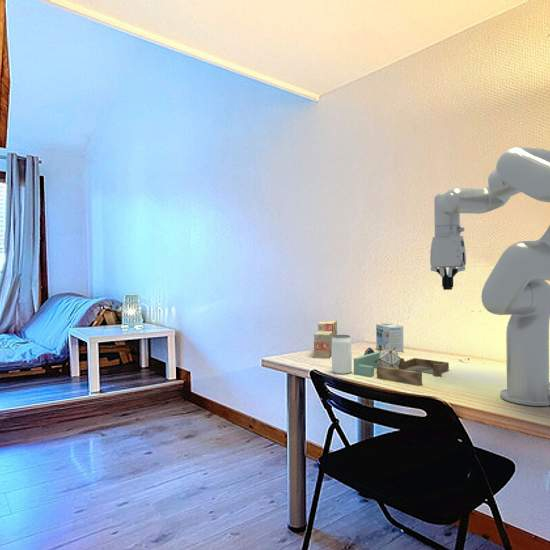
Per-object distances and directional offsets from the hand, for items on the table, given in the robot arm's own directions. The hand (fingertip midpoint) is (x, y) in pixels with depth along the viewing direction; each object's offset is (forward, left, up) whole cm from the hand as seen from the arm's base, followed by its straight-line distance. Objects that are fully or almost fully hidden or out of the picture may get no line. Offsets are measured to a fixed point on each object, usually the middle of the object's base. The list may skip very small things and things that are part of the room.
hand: (447, 289), depth 142 cm
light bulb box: (+34, -24, -27) cm, 50 cm away
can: (+28, +19, -27) cm, 43 cm away
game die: (+16, +10, -27) cm, 33 cm away
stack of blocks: (+52, -5, -28) cm, 59 cm away
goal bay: (+20, +11, -27) cm, 35 cm away
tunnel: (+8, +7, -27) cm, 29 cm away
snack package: (+28, -2, -28) cm, 39 cm away
